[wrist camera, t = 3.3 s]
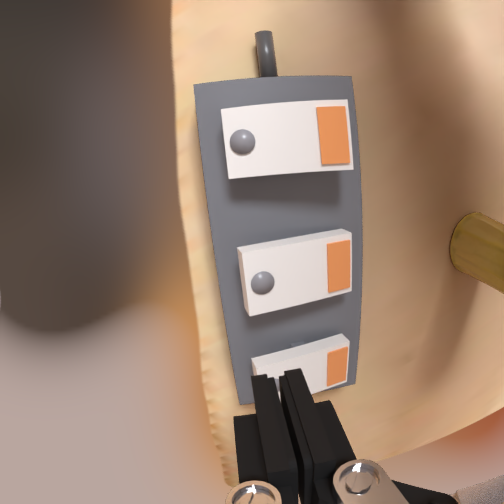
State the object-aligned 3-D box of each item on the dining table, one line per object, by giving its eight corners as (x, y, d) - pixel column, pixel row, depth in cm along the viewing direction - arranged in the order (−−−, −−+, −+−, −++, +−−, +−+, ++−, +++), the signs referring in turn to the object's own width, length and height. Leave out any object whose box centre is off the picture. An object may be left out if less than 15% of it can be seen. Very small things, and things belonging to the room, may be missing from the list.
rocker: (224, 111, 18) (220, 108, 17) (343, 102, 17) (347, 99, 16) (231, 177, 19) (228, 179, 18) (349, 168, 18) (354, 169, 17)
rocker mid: (236, 247, 19) (242, 253, 18) (342, 228, 21) (352, 233, 19) (244, 308, 20) (250, 317, 19) (342, 284, 22) (352, 292, 21)
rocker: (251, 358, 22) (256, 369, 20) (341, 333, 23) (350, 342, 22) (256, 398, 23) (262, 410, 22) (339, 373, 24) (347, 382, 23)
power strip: (192, 44, 20) (187, 25, 16) (326, 37, 20) (345, 20, 16) (237, 379, 28) (240, 408, 24) (342, 361, 29) (357, 387, 25)
